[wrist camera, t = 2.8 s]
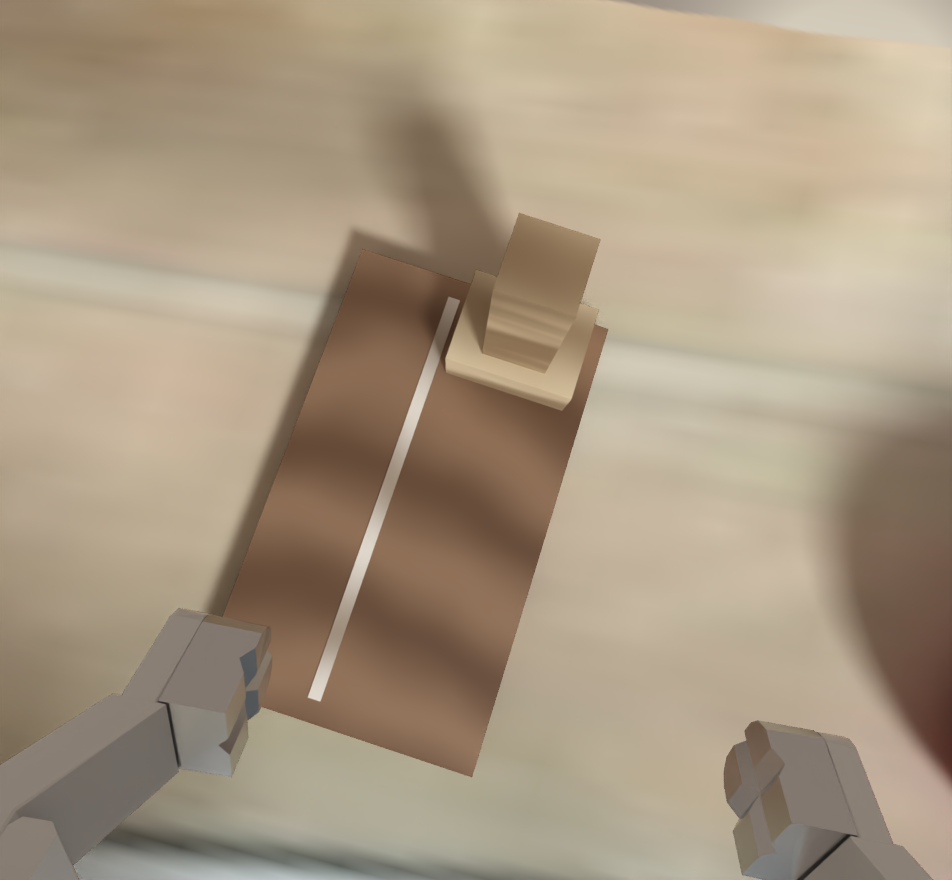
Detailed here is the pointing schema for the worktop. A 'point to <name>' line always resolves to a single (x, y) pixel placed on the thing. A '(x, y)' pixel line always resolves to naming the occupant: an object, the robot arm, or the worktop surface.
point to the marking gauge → (529, 316)
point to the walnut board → (403, 526)
